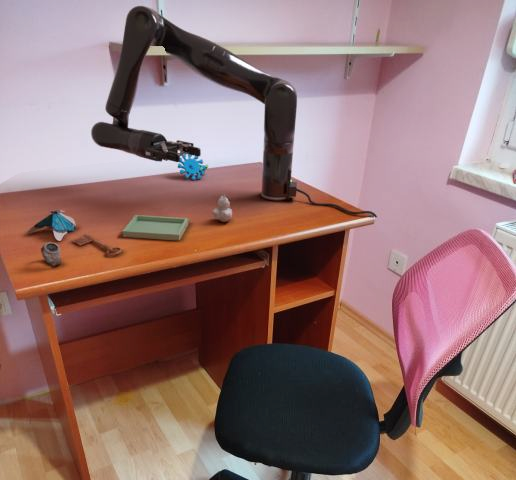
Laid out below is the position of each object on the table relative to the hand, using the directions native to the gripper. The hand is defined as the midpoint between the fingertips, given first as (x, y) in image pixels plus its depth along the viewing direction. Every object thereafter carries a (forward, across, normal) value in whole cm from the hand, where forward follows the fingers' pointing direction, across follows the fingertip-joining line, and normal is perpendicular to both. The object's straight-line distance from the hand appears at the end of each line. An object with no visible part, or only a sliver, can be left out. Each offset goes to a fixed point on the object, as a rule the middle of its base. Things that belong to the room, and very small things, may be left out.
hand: (189, 155), depth 133 cm
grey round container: (-2, -46, +17) cm, 49 cm away
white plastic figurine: (+11, 0, +16) cm, 20 cm away
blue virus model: (-22, +27, +16) cm, 39 cm away
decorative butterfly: (-18, -34, +17) cm, 42 cm away
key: (-1, -34, +16) cm, 38 cm away
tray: (+2, -16, +16) cm, 23 cm away
